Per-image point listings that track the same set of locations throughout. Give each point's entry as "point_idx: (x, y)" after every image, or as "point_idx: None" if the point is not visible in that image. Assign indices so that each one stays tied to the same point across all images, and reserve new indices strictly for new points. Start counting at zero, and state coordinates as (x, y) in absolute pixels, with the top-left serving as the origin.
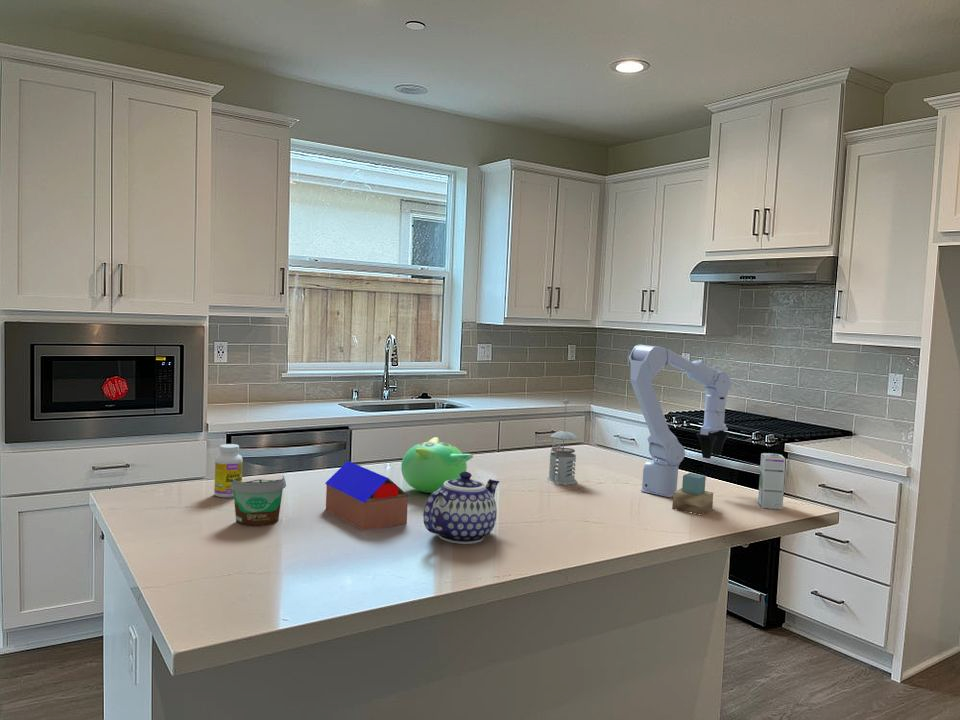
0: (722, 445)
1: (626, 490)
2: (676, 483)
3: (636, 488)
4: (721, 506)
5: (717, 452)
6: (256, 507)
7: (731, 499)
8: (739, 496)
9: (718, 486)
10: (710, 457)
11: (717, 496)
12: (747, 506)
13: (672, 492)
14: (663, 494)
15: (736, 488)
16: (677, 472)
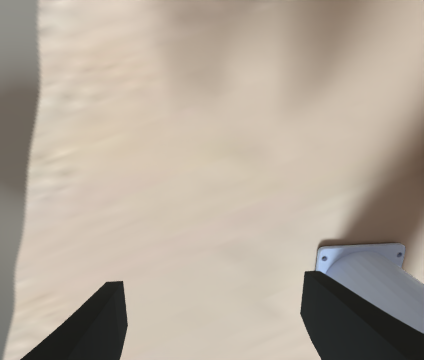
0: (65, 344)
1: None
2: (386, 271)
3: None
4: (397, 83)
5: (116, 312)
6: None
7: (267, 95)
8: (192, 90)
9: (100, 212)
10: (310, 274)
11: (262, 151)
12: (331, 4)
13: (383, 256)
14: (400, 267)
15: (64, 151)
16: (422, 302)
